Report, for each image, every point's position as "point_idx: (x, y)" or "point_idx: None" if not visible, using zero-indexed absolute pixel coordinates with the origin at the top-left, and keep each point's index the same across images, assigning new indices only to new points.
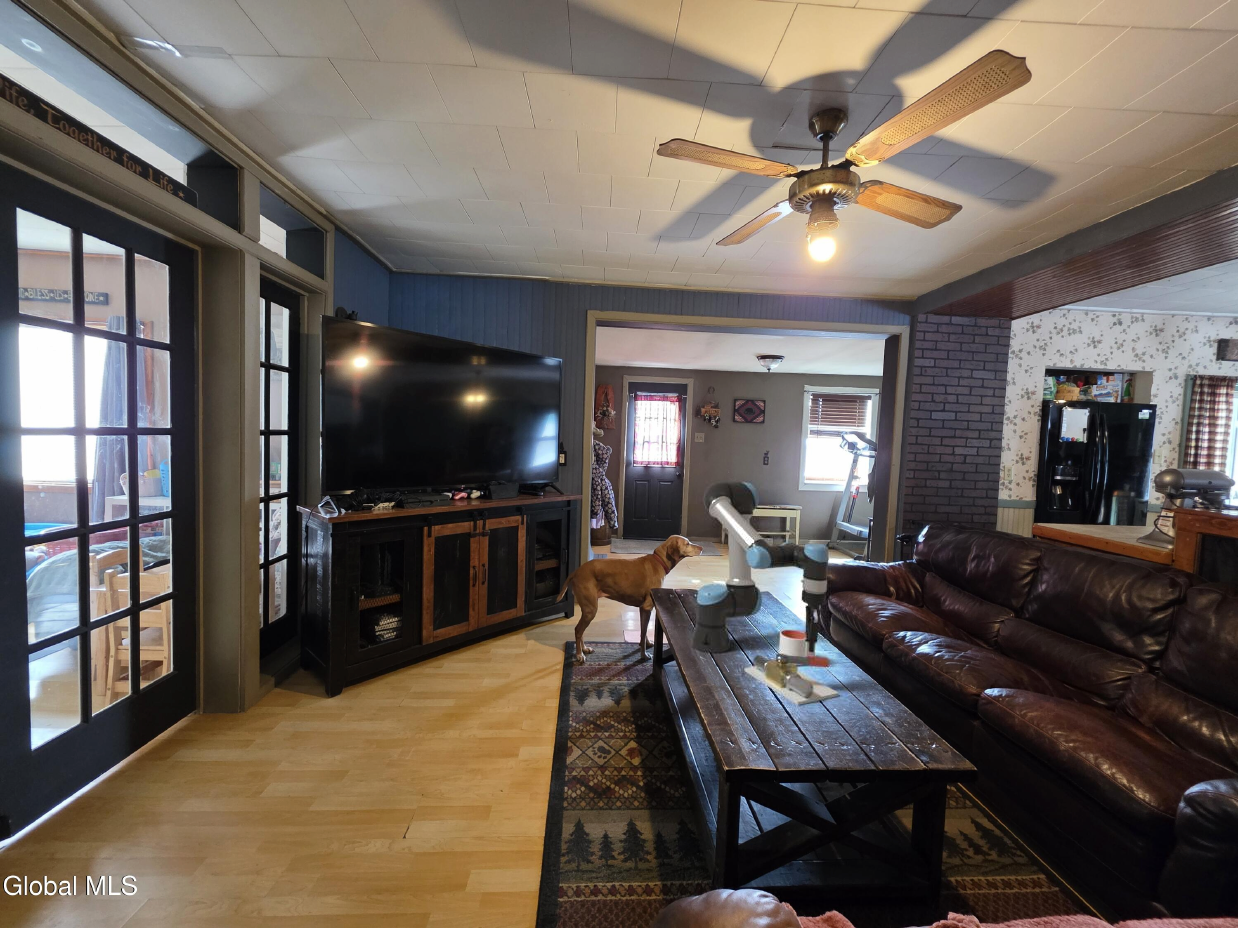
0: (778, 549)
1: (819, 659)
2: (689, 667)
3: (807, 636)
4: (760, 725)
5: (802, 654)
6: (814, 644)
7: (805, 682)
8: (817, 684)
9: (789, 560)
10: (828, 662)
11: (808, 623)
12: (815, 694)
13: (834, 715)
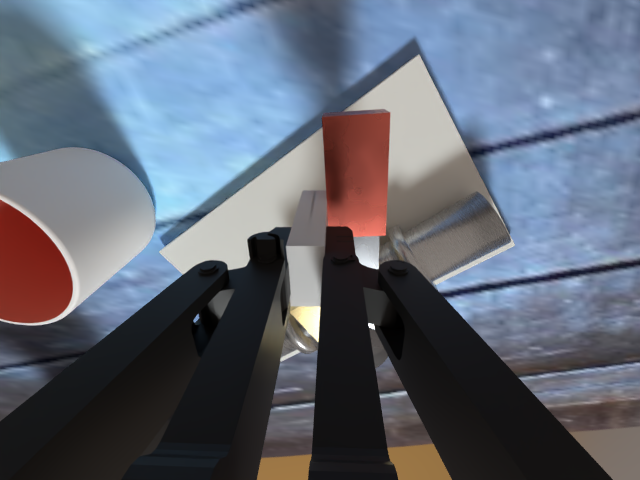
0: None
1: (367, 175)
2: (304, 452)
3: (286, 319)
4: (627, 347)
5: (109, 189)
6: (324, 241)
7: (488, 238)
8: None
9: None
10: (389, 114)
11: (260, 452)
12: (446, 170)
13: (600, 116)
